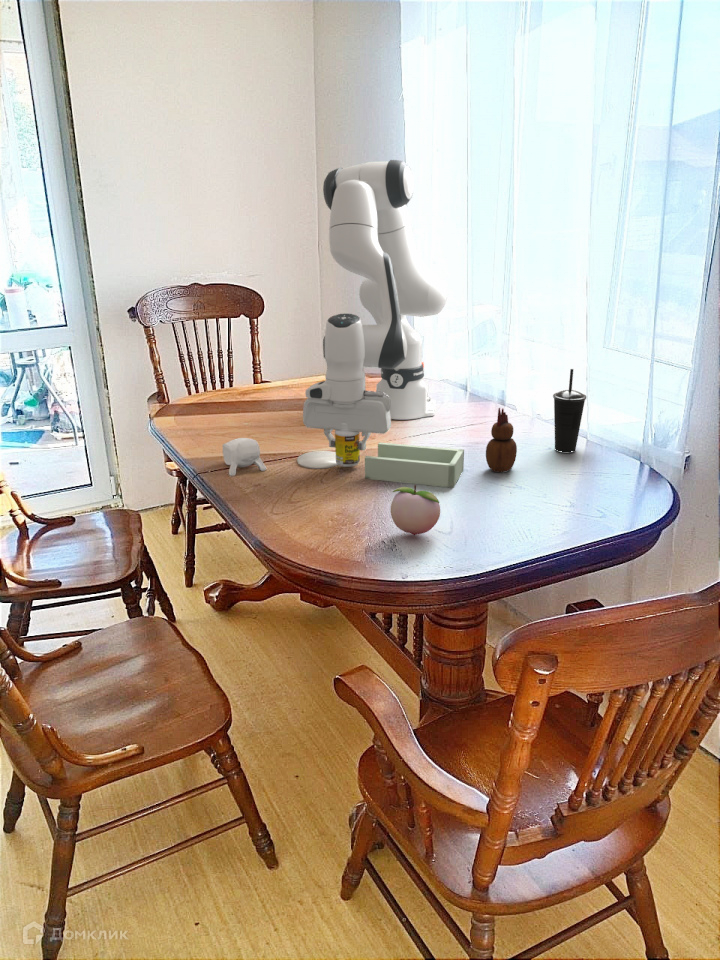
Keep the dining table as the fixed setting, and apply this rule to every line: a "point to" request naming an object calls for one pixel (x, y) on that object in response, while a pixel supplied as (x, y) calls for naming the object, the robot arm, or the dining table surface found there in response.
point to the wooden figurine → (501, 445)
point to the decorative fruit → (414, 510)
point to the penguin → (242, 454)
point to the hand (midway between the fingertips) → (347, 448)
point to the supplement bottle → (347, 447)
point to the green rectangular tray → (415, 464)
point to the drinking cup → (567, 417)
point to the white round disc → (318, 459)
